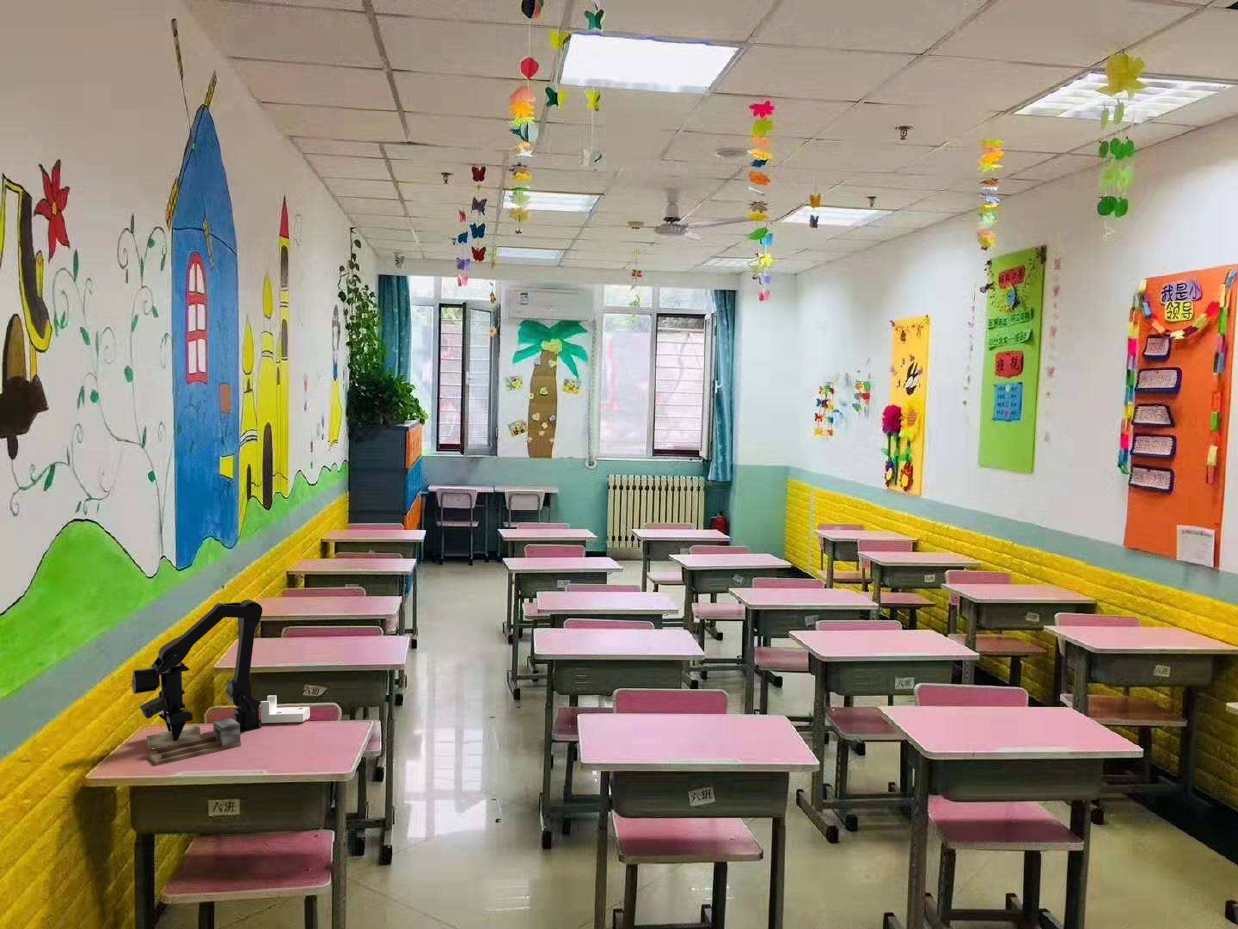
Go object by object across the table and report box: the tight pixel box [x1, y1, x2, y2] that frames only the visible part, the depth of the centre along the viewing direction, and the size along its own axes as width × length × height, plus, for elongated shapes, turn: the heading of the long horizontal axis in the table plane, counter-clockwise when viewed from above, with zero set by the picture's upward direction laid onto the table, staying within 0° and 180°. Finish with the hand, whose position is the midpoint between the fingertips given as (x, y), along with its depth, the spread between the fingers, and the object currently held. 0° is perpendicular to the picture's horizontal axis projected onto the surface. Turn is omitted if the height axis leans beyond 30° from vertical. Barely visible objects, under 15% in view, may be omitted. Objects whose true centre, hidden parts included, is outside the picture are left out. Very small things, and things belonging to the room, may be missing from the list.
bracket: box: [260, 694, 311, 724], centre depth 296 cm, size 13×7×8 cm, turn 92°
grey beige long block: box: [146, 725, 201, 750], centre depth 277 cm, size 14×3×4 cm, turn 130°
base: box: [147, 717, 242, 766], centre depth 269 cm, size 23×9×6 cm, turn 130°
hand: (174, 739), depth 277 cm, fingers closed on grey beige long block, 3 cm apart
